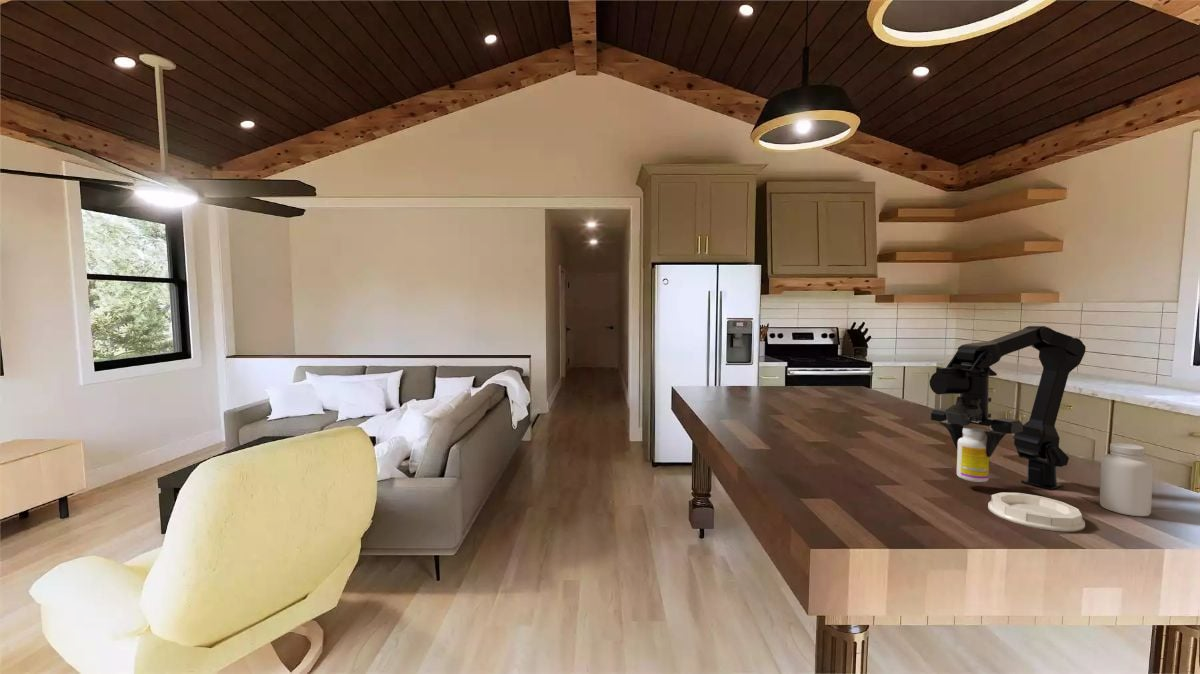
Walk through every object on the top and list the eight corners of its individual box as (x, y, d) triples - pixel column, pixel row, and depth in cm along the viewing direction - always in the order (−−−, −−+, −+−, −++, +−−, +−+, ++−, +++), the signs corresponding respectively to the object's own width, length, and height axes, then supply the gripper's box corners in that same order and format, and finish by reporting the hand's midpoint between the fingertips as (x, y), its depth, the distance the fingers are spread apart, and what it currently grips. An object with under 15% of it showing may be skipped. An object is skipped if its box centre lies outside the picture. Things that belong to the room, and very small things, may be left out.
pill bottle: (1144, 520, 104) (1146, 451, 103) (1093, 507, 111) (1095, 443, 111) (1157, 513, 108) (1159, 447, 107) (1107, 501, 115) (1108, 439, 114)
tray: (1011, 498, 118) (1012, 487, 117) (1100, 523, 103) (1100, 511, 103) (972, 509, 111) (972, 498, 111) (1061, 537, 96) (1061, 524, 96)
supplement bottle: (994, 483, 121) (996, 433, 120) (964, 482, 122) (966, 432, 121) (979, 474, 127) (981, 427, 126) (951, 473, 128) (952, 426, 128)
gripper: (917, 390, 129) (916, 448, 129) (998, 401, 112) (996, 467, 112) (943, 387, 133) (942, 443, 134) (1024, 397, 116) (1023, 461, 117)
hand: (973, 453), depth 124 cm, fingers closed on supplement bottle, 7 cm apart
